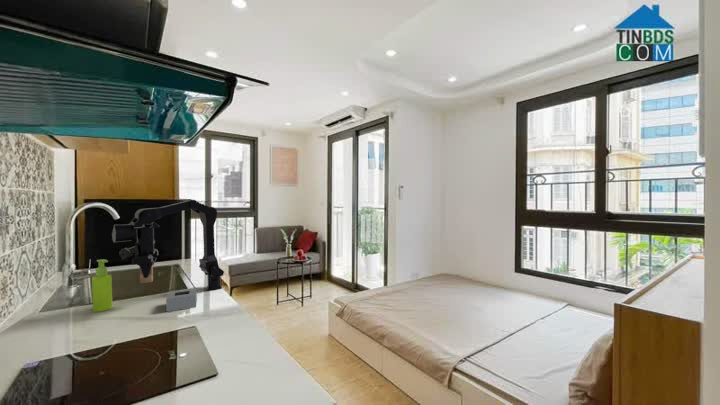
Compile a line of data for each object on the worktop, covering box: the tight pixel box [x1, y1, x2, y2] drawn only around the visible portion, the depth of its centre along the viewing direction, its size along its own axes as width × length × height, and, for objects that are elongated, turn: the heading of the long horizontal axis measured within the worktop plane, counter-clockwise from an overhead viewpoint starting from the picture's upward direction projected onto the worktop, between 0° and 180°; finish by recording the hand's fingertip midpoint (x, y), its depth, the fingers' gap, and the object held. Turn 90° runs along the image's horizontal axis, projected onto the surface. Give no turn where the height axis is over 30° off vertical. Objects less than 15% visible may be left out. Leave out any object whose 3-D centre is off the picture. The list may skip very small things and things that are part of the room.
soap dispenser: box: [91, 258, 113, 313], centre depth 117 cm, size 6×7×20 cm
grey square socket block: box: [165, 287, 198, 312], centre depth 120 cm, size 10×10×5 cm
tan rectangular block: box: [138, 265, 154, 284], centre depth 121 cm, size 3×4×7 cm
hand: (146, 276), depth 121 cm, fingers closed on tan rectangular block, 3 cm apart
